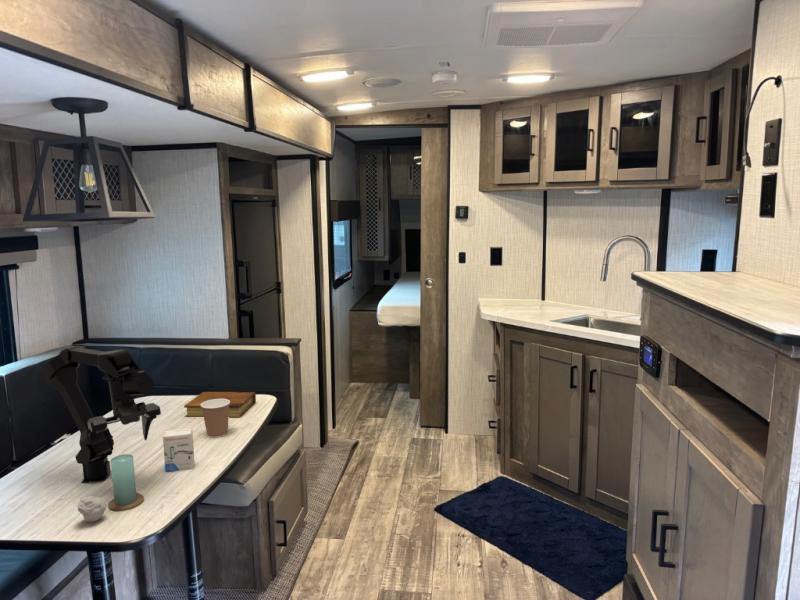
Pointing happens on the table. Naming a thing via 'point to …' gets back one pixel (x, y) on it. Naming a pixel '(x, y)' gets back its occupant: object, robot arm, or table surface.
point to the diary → (238, 400)
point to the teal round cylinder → (123, 479)
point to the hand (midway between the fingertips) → (129, 444)
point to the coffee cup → (216, 416)
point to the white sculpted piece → (92, 508)
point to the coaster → (122, 508)
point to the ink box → (178, 449)
